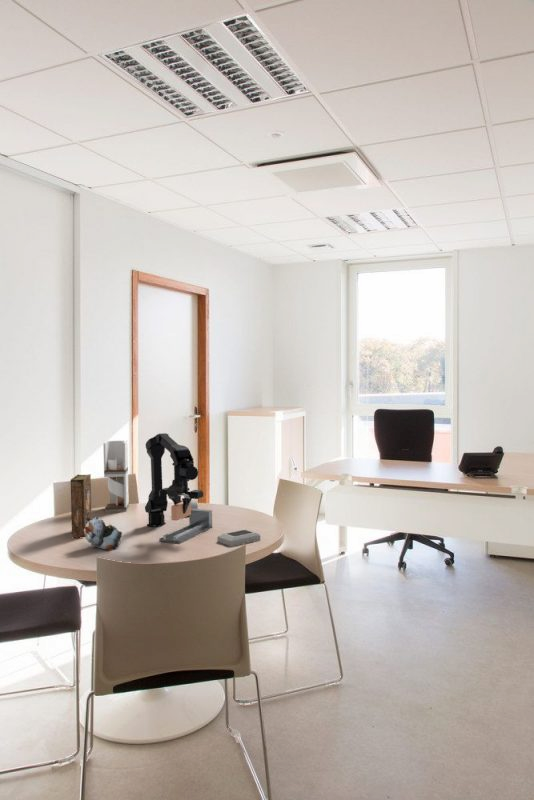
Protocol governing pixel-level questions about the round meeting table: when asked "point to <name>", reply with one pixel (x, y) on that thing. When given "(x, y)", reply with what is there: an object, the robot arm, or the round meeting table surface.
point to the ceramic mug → (193, 504)
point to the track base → (191, 526)
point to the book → (80, 504)
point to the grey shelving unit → (116, 474)
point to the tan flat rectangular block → (179, 511)
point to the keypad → (238, 537)
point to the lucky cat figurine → (101, 534)
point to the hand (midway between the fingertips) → (181, 513)
